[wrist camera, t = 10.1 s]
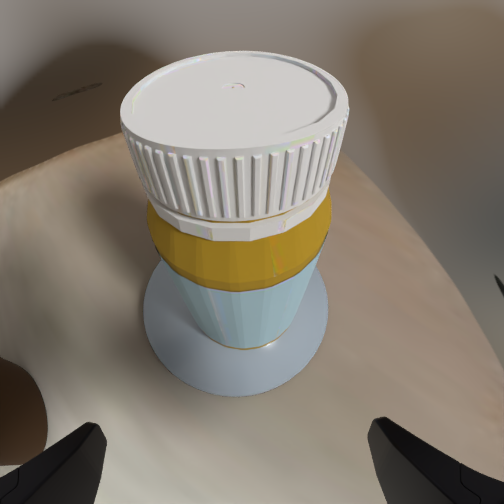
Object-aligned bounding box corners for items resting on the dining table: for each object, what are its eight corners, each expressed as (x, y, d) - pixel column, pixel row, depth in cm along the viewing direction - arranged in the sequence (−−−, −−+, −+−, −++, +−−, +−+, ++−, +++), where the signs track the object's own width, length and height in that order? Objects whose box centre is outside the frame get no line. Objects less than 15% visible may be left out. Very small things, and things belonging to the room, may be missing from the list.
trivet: (155, 405, 16) (150, 405, 15) (148, 245, 23) (143, 237, 22) (343, 374, 18) (349, 372, 17) (299, 223, 24) (301, 214, 23)
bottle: (299, 265, 21) (350, 60, 8) (288, 359, 17) (389, 193, 4) (206, 251, 21) (166, 50, 9) (182, 340, 18) (52, 163, 5)
